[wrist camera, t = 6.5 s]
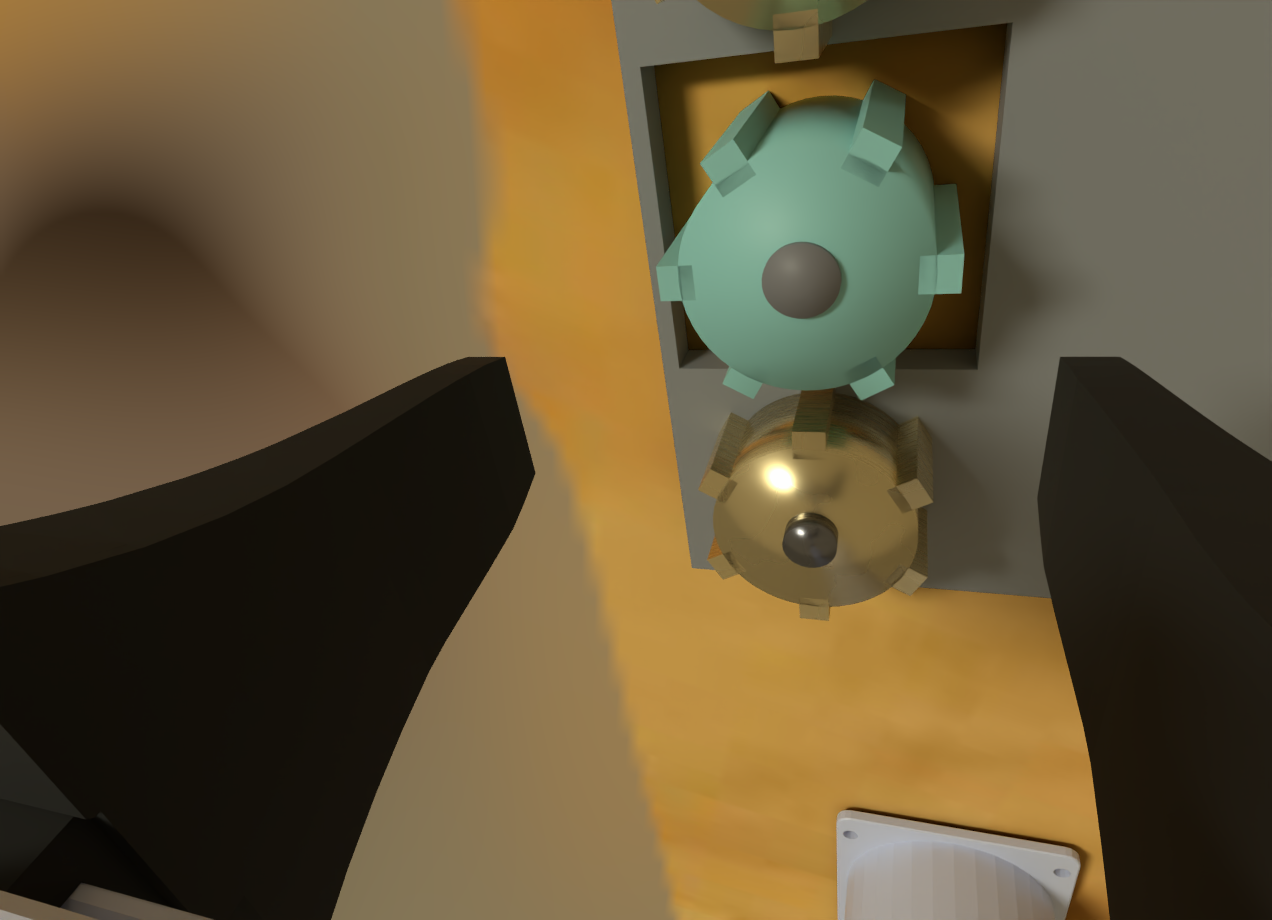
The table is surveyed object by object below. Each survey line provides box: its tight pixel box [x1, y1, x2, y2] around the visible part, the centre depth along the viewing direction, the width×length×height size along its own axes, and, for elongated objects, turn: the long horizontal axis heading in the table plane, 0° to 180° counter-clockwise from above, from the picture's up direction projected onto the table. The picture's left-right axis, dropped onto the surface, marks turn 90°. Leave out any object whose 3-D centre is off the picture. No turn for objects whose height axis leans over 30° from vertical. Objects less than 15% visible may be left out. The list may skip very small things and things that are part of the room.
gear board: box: [611, 0, 1272, 621], centre depth 15 cm, size 20×15×4 cm
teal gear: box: [656, 79, 964, 400], centre depth 16 cm, size 5×5×4 cm
